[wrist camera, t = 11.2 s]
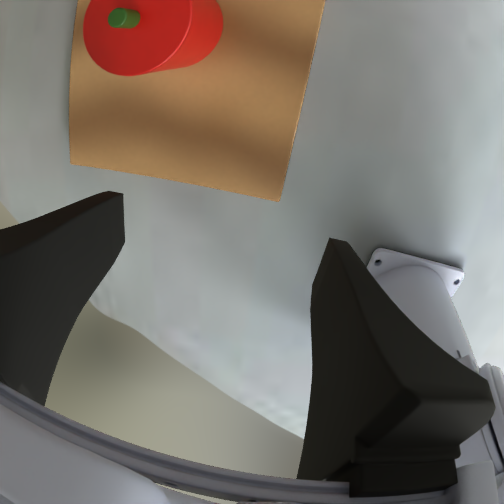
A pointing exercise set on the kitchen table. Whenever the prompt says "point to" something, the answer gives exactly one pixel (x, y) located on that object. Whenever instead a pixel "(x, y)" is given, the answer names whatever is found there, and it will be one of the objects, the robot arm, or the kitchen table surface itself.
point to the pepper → (150, 34)
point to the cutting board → (203, 103)
